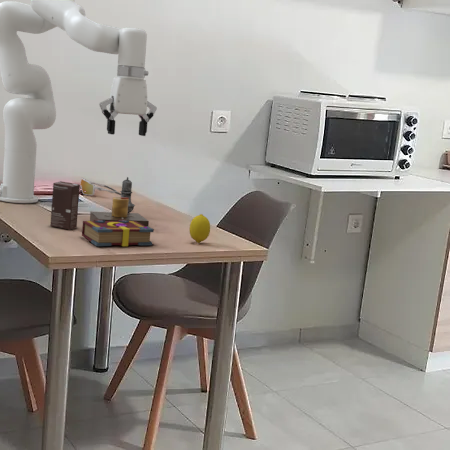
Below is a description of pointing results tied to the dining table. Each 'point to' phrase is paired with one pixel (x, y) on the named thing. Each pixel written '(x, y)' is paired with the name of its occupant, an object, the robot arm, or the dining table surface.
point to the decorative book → (116, 233)
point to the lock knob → (120, 207)
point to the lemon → (199, 228)
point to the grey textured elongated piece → (127, 193)
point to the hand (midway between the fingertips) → (126, 134)
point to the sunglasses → (91, 188)
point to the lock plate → (108, 217)
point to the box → (65, 205)
